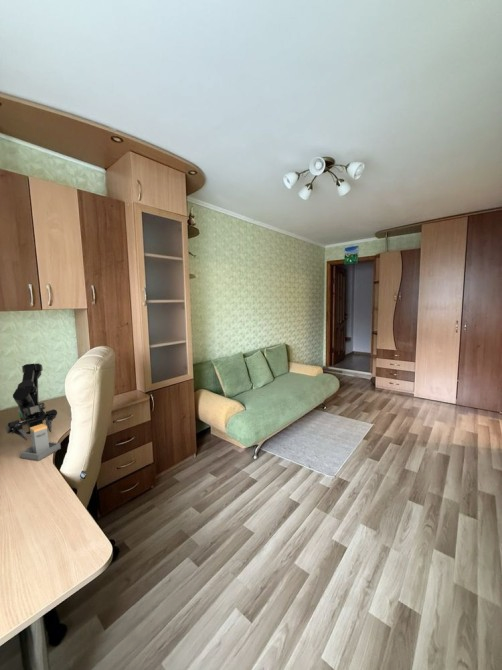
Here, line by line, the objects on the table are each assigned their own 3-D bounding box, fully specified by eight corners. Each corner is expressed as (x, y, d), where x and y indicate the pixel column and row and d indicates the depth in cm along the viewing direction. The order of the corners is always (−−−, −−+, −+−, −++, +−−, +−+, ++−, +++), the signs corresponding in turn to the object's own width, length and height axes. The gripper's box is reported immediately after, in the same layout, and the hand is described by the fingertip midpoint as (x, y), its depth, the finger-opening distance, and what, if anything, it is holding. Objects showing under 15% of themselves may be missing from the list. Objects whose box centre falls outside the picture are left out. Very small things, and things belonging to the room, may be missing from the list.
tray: (20, 458, 122) (20, 452, 122) (43, 446, 133) (42, 440, 132) (38, 461, 120) (38, 455, 120) (60, 448, 130) (60, 443, 130)
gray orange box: (32, 453, 126) (29, 427, 124) (45, 448, 130) (42, 423, 128) (37, 456, 122) (34, 430, 121) (50, 451, 126) (47, 426, 125)
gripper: (4, 405, 119) (16, 435, 114) (53, 393, 134) (65, 419, 129) (1, 418, 124) (12, 447, 119) (48, 405, 139) (60, 430, 135)
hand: (39, 435), depth 125 cm, fingers open, 9 cm apart
